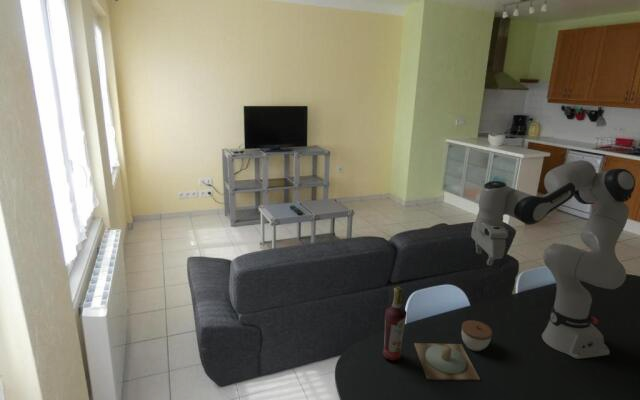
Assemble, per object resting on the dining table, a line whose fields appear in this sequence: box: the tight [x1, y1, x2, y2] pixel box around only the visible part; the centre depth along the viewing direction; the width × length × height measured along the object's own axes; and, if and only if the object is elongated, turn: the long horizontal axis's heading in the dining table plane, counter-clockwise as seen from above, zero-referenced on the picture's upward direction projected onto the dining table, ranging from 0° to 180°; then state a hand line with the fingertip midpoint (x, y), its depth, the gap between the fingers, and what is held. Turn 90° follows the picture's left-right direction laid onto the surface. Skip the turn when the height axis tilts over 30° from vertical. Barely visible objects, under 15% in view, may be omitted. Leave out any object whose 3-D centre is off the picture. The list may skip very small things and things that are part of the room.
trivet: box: [414, 342, 481, 381], centre depth 137 cm, size 18×18×1 cm
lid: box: [425, 345, 466, 374], centre depth 136 cm, size 14×14×5 cm
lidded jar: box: [460, 319, 493, 352], centre depth 145 cm, size 11×11×9 cm
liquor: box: [381, 286, 407, 362], centre depth 135 cm, size 7×7×28 cm
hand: (483, 258), depth 145 cm, fingers open, 8 cm apart
